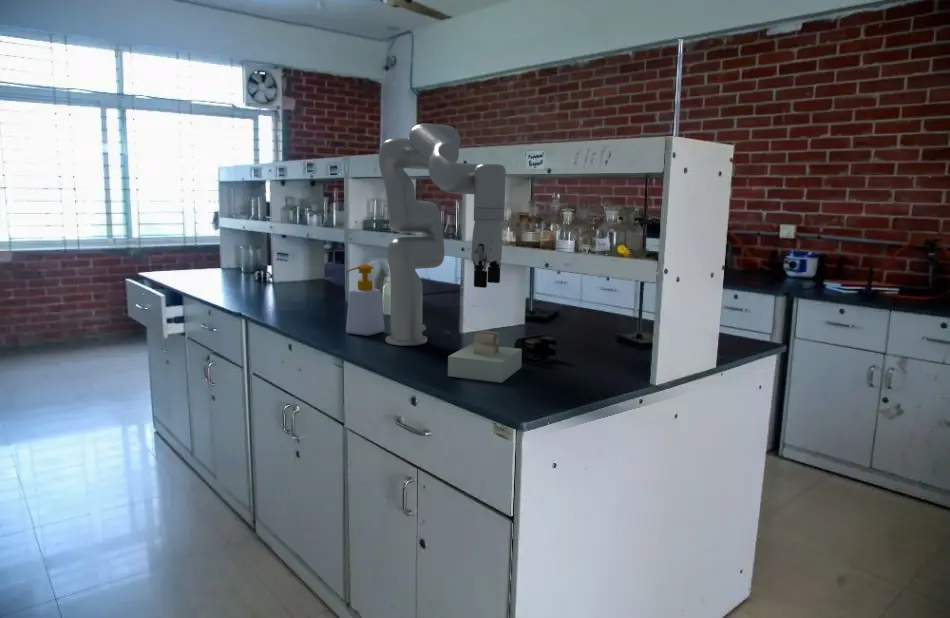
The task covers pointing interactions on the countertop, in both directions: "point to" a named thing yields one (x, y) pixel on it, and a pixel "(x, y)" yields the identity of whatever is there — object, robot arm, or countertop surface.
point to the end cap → (536, 348)
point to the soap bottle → (364, 307)
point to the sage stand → (485, 364)
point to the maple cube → (486, 342)
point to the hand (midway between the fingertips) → (487, 284)
